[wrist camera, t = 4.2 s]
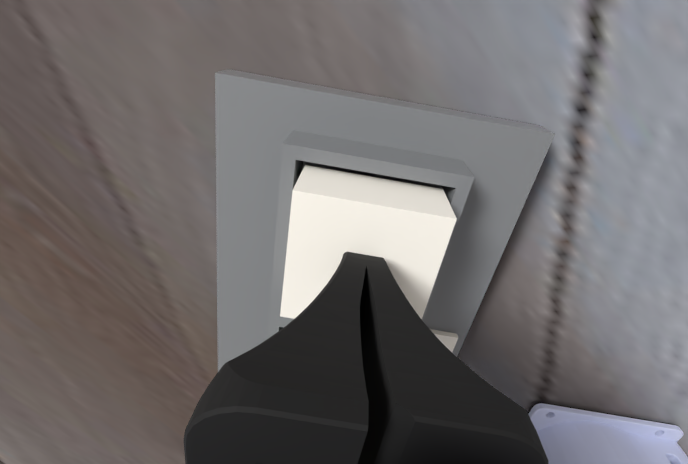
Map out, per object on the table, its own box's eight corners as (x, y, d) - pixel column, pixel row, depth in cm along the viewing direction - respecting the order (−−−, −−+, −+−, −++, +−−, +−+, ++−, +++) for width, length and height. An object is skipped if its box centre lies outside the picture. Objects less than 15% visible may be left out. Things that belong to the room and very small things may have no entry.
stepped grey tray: (539, 125, 15) (581, 148, 12) (396, 470, 28) (399, 524, 25) (228, 69, 15) (192, 78, 12) (226, 442, 27) (207, 494, 24)
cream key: (443, 189, 14) (456, 218, 11) (409, 297, 16) (414, 339, 14) (305, 164, 14) (292, 190, 11) (292, 277, 16) (279, 316, 14)
